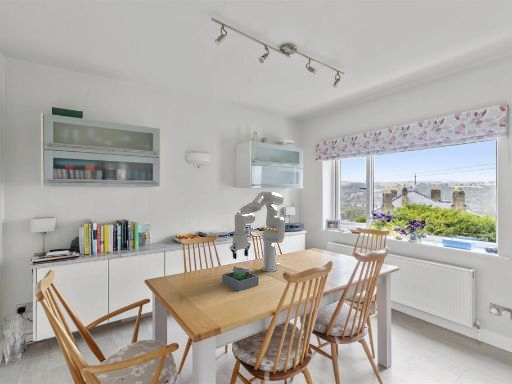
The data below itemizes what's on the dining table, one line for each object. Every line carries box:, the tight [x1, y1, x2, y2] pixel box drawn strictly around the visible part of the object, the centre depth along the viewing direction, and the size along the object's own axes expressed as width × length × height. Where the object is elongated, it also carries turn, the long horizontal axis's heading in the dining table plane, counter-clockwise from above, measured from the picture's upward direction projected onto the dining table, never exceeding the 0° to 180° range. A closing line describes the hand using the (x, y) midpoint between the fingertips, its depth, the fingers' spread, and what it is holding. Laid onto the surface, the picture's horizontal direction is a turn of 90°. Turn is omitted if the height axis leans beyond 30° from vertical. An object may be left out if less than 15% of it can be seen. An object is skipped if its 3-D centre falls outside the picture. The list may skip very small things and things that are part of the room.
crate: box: [221, 271, 259, 292], centre depth 184 cm, size 17×19×6 cm
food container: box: [232, 265, 250, 281], centre depth 184 cm, size 12×6×10 cm, turn 60°
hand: (240, 257), depth 184 cm, fingers open, 9 cm apart
